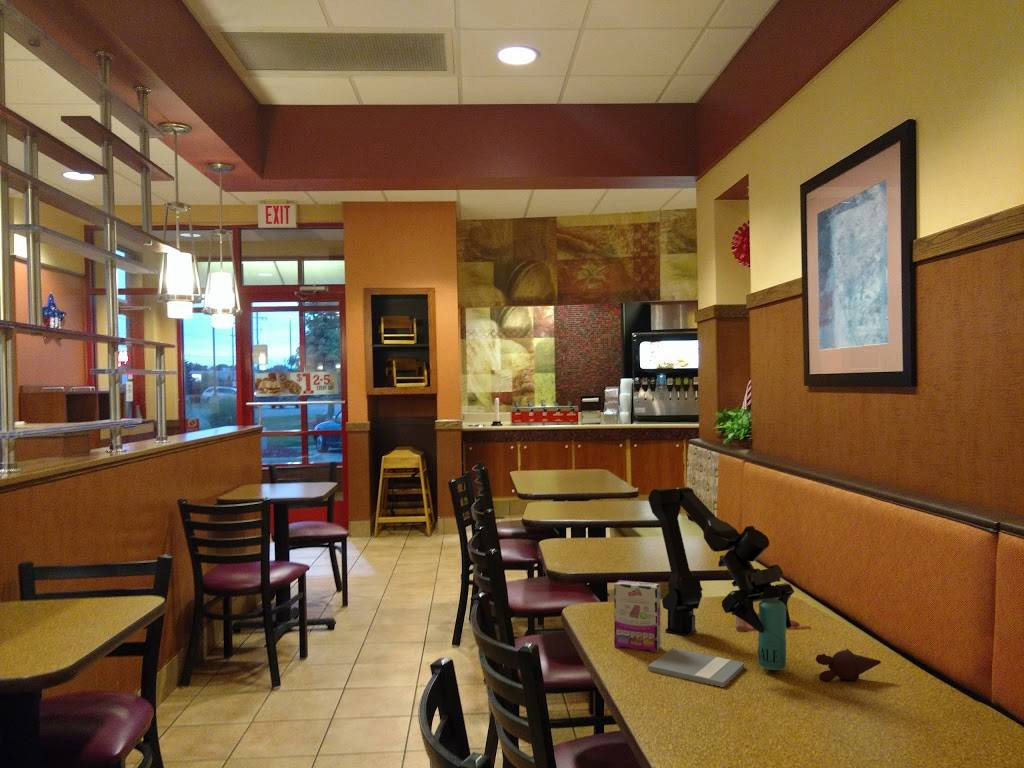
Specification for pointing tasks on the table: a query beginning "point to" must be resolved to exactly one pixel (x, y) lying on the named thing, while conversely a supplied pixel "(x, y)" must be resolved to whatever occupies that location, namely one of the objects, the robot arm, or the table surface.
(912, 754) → the table surface
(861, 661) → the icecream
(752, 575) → the robot arm
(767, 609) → the beverage bottle
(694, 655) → the grey flat rectangular block
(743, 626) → the pizza slice
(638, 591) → the candy bar box
